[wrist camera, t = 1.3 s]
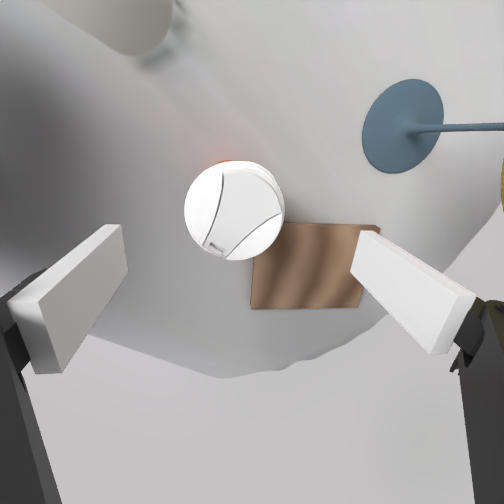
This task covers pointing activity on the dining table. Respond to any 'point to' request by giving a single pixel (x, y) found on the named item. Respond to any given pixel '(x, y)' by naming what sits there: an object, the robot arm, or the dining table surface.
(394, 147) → the cocktail glass
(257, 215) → the coffee cup
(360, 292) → the walnut board
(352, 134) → the dining table surface
